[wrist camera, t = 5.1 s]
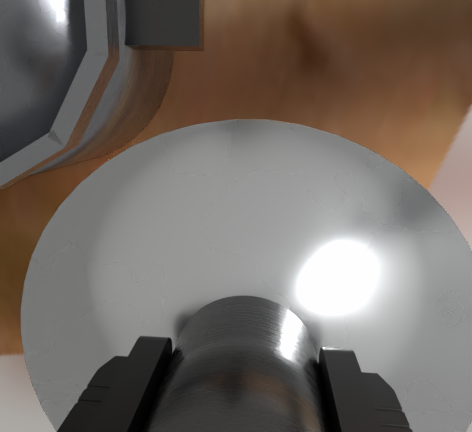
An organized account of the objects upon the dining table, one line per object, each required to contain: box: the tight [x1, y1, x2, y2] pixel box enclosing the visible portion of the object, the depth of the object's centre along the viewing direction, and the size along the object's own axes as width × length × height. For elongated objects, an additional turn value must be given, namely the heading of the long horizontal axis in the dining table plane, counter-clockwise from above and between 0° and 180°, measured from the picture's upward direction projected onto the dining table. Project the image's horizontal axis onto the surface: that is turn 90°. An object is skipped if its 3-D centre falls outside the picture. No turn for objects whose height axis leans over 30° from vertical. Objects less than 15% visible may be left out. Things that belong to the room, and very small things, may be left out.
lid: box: [21, 119, 472, 432], centre depth 8 cm, size 12×12×6 cm
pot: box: [0, 0, 204, 190], centre depth 20 cm, size 21×15×11 cm
